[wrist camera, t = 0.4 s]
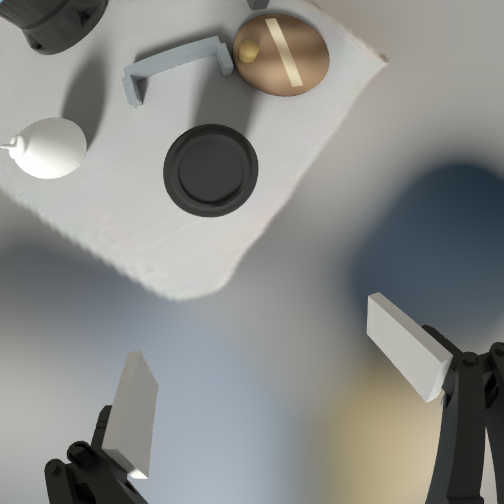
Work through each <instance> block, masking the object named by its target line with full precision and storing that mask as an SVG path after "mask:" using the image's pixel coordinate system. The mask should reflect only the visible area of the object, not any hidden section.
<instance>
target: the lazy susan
mask: <svg viewBox="0 0 504 504" xmlns="http://www.w3.org/2000/svg"><path fill="white" fill-rule="evenodd" d="M232 55H233V61H234V64H235V66H236V69H237V70H238V72H239V74H240V75H241V76H242V77H243V78H244V80H246V81H247V82H248V83H249V84H250V85H252V86H253V87H255V88H256V89H258V90H260V91H262V92H265V93H267V94H271V95H275V96H283V97H285V96H296V95H300V94H303V93H305V92H307V91H309V90H311V89H312V88H314V87H315V86H316V85H318V84H319V83H320V82H321V81H322V80H323V78H324V77H325V75H326V73H327V71H328V68H329V52H328V49H327V46H326V44H325V42H324V40H323V39H322V37H321V36H320V35H319V34H318V32H317V31H316V30H315V29H313V28H312V27H311V26H310V25H308V24H307V23H305V22H303V21H301V20H299V19H297V18H294V17H292V16H288V15H282V14H267V15H262V16H259V17H256V18H254V19H251V20H250V21H248V22H247V23H246V24H244V25H243V26H242V27H241V29H240V30H239V31H238V33H237V35H236V37H235V41H234V45H233V53H232Z"/></svg>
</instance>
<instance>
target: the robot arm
mask: <svg viewBox="0 0 504 504" xmlns="http://www.w3.org/2000/svg"><path fill="white" fill-rule="evenodd" d="M105 7H106V0H0V16H1V17H3V18H4V19H6V20H8V21H9V22H11V23H13V24H14V25H16V26H18V27H19V28H21V29H22V31H23V33H24V35H25V37H26V39H27V42H28V44H29V45H30V47H31V48H32V49H33V50H35V51H37V52H38V53H40V54H43V55H52V54H56V53H59V52H62V51H64V50H66V49H68V48H70V47H72V46H73V45H75V44H76V43H77V42H79V41H80V40H81V39H83V38H84V37H85V36H86V35H87V34H88V33H89V32H90V31H91V30H92V29H93V28H94V27H95V25H96V24H97V23H98V21H99V20H100V18H101V17H102V15H103V13H104V10H105ZM367 334H368V335H369V336H370V338H372V340H373V341H374V342H375V343H376V344H377V345H378V346H379V347H380V349H381V350H382V351H383V352H384V353H385V354H386V356H387V357H388V358H389V359H390V360H391V361H392V362H393V364H394V365H395V366H396V367H397V368H398V369H399V371H400V372H401V373H402V374H403V375H404V376H405V378H406V379H407V380H408V381H409V382H410V383H411V385H412V386H413V387H414V388H415V389H416V390H417V392H418V393H419V394H420V395H421V396H422V397H423V399H424V400H425V401H426V402H427V403H428V402H429V401H431V400H433V399H434V398H436V397H437V396H438V395H439V393H440V391H441V388H442V389H443V390H444V391H445V394H444V396H443V398H442V401H441V403H440V406H442V404H443V413H442V423H441V431H440V438H439V445H438V451H437V456H436V462H435V466H434V471H433V476H432V480H431V484H430V488H429V492H428V495H427V499H426V502H425V504H484V499H483V497H481V496H480V488H481V481H482V473H483V464H484V453H485V428H486V429H487V433H488V438H489V442H490V447H491V452H492V459H493V465H494V472H495V480H496V490H497V502H498V504H504V343H502V342H496V343H494V344H493V345H492V346H491V348H490V351H489V352H487V353H485V354H481V355H477V354H475V353H473V352H464V353H463V352H461V351H460V350H459V349H458V348H457V347H456V346H455V345H454V344H452V343H451V342H450V341H449V340H448V339H446V338H445V337H444V336H443V335H442V334H440V333H439V332H438V331H437V330H436V329H435V328H433V327H430V326H428V325H423V326H421V327H420V326H419V325H418V324H417V323H415V322H414V321H413V320H412V319H411V318H410V317H408V316H407V315H406V314H405V313H404V312H402V311H401V310H400V309H399V308H398V307H396V306H395V305H394V304H393V303H392V302H390V301H389V300H388V299H386V298H385V297H384V296H383V295H382V294H381V293H376V294H372V295H370V296H368V321H367ZM157 391H158V383H157V382H156V380H155V378H154V376H153V374H152V372H151V370H150V368H149V366H148V364H147V362H146V360H145V358H144V356H143V354H142V352H141V351H135V352H129V353H128V356H127V359H126V363H125V365H124V369H123V372H122V375H121V378H120V382H119V385H118V388H117V391H116V395H115V398H114V402H113V405H106V406H105V407H104V408H103V409H102V411H101V412H100V414H99V417H98V422H97V424H96V429H95V431H94V435H93V438H92V442H91V446H90V445H89V444H88V443H87V442H84V441H77V442H75V443H73V444H72V445H70V447H69V449H68V450H67V458H68V460H69V461H71V462H72V463H69V464H65V463H63V462H62V461H61V460H59V459H52V460H50V461H49V462H48V463H47V464H46V466H45V471H44V472H45V479H46V485H47V492H48V497H49V501H50V504H148V503H147V502H146V501H145V499H144V498H143V497H142V496H141V495H140V494H139V492H138V491H137V490H136V489H135V488H134V486H133V485H132V484H131V483H130V481H128V480H127V474H130V475H131V476H132V477H133V478H147V479H148V477H149V463H150V450H151V441H152V431H153V423H154V414H155V406H156V398H157Z"/></svg>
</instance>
